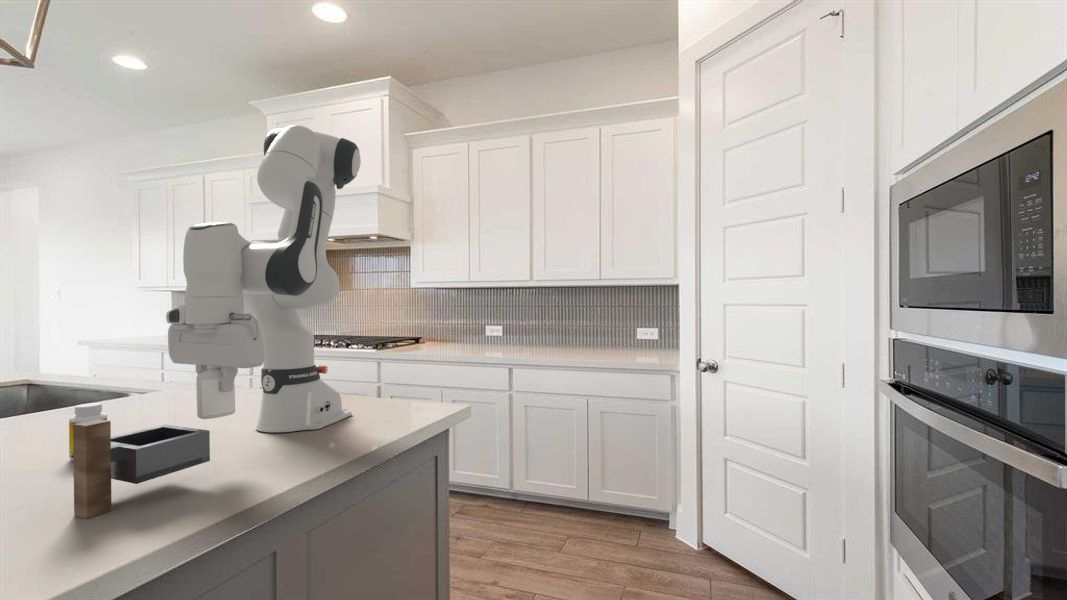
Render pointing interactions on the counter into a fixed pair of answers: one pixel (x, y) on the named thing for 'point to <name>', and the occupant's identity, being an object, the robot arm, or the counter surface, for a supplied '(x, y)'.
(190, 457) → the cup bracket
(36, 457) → the counter surface
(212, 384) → the eye dropper bottle
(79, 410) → the supplement bottle
